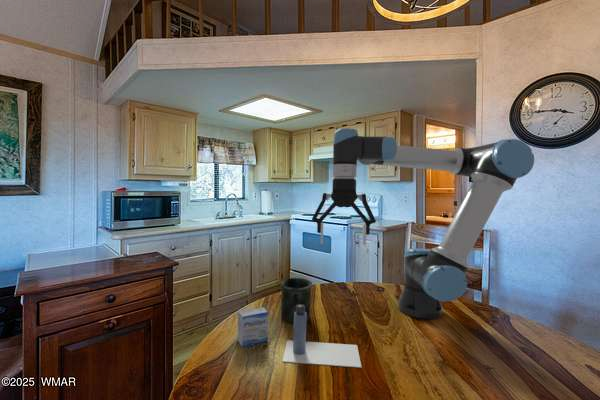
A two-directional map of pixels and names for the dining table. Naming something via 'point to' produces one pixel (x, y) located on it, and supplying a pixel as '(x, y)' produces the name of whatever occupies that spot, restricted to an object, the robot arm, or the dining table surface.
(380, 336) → the dining table surface
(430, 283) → the robot arm
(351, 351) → the paper
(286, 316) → the mug
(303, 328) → the marker
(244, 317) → the medicine box
